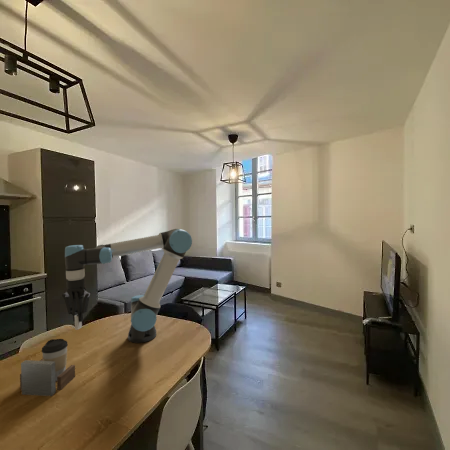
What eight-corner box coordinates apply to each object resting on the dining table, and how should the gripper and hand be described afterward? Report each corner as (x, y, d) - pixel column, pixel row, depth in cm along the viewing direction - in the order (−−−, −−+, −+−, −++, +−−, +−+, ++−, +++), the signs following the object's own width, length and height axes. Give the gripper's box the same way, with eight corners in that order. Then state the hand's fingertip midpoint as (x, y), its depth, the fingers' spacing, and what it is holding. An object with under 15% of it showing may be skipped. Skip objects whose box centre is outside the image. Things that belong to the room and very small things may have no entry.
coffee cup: (73, 373, 107) (72, 338, 107) (51, 386, 99) (50, 349, 99) (59, 368, 111) (58, 335, 111) (37, 380, 103) (36, 344, 102)
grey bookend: (55, 392, 96) (55, 361, 95) (51, 396, 94) (51, 364, 93) (26, 390, 97) (25, 360, 96) (21, 394, 95) (21, 363, 94)
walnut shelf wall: (89, 363, 115) (89, 350, 115) (59, 391, 96) (58, 376, 96) (57, 361, 116) (56, 348, 116) (20, 389, 97) (19, 374, 97)
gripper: (94, 276, 120) (96, 324, 121) (68, 276, 121) (70, 324, 122) (84, 280, 112) (86, 332, 113) (56, 280, 113) (59, 332, 114)
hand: (78, 328), depth 118 cm, fingers closed
